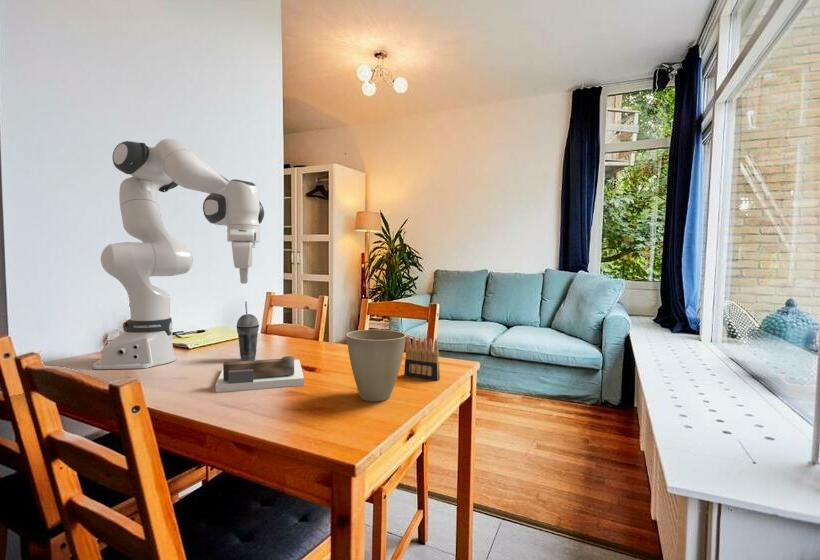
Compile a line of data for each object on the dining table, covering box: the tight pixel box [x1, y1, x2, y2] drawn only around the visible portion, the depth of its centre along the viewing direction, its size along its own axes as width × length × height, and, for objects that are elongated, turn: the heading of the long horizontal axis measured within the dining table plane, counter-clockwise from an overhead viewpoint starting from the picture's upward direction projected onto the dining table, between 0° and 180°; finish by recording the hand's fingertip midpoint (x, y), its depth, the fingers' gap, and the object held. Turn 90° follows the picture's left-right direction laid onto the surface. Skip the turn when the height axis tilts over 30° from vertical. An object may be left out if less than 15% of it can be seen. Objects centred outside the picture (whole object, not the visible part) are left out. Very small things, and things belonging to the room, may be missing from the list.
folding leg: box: [222, 355, 295, 381], centre depth 114 cm, size 18×3×5 cm, turn 110°
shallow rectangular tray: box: [215, 359, 305, 393], centre depth 121 cm, size 22×22×5 cm
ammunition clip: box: [403, 335, 441, 382], centre depth 123 cm, size 11×2×12 cm, turn 64°
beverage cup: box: [236, 300, 260, 361], centre depth 141 cm, size 7×7×20 cm
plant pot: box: [346, 329, 407, 403], centre depth 105 cm, size 15×15×16 cm
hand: (244, 283), depth 123 cm, fingers closed
